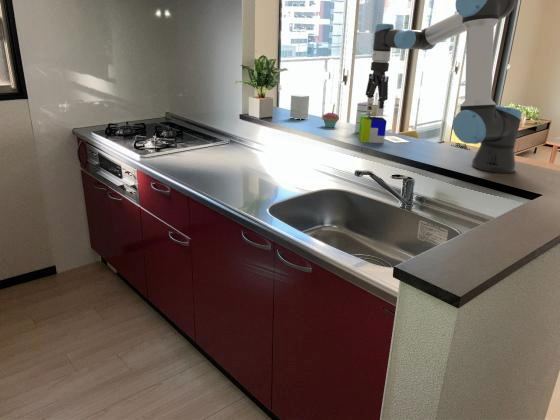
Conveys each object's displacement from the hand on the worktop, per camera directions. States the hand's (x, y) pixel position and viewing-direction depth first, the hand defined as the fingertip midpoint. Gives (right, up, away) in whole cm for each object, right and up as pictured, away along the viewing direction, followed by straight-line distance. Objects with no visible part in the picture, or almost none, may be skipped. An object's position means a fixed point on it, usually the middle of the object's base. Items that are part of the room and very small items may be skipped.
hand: (374, 114), depth 217 cm
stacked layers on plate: (0, -1, 0) cm, 1 cm away
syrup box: (-2, -5, +21) cm, 22 cm away
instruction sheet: (+11, -10, +9) cm, 17 cm away
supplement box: (-32, +7, +49) cm, 59 cm away
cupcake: (-17, -1, +31) cm, 35 cm away
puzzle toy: (-1, -11, +4) cm, 12 cm away
